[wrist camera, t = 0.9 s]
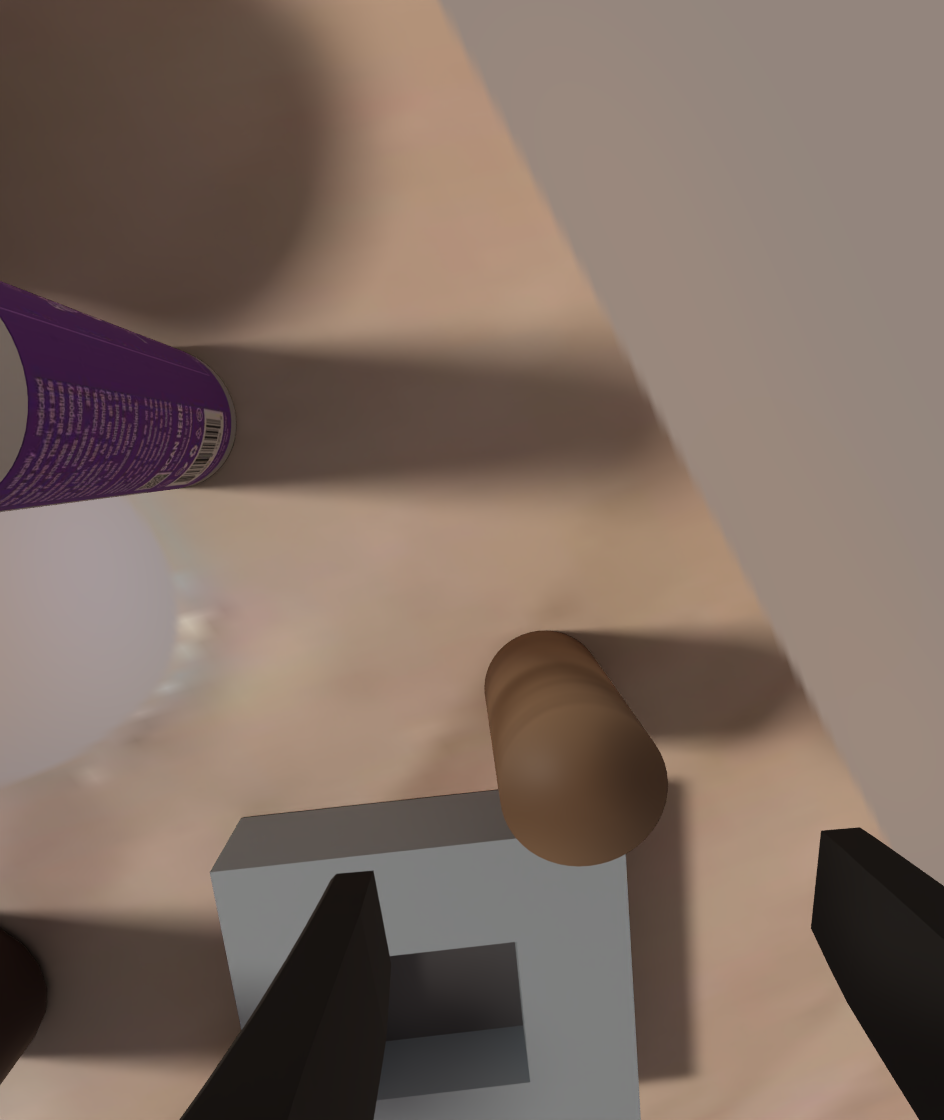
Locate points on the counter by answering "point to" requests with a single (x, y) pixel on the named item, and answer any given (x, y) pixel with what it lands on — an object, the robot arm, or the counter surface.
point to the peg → (569, 753)
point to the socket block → (455, 954)
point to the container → (100, 409)
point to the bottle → (18, 1001)
